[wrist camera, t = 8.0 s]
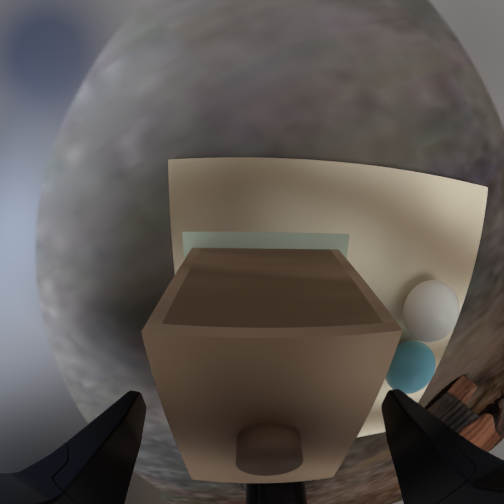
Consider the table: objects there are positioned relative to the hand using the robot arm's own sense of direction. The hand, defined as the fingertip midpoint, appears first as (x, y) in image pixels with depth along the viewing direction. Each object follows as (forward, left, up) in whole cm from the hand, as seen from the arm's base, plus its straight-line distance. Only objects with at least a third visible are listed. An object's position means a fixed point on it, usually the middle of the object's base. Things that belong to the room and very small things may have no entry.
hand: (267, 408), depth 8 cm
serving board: (-2, -4, -6) cm, 7 cm away
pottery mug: (-12, -18, -6) cm, 23 cm away
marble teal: (-2, -8, -5) cm, 10 cm away
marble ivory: (+2, -8, -5) cm, 9 cm away
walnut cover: (0, 0, -5) cm, 5 cm away
